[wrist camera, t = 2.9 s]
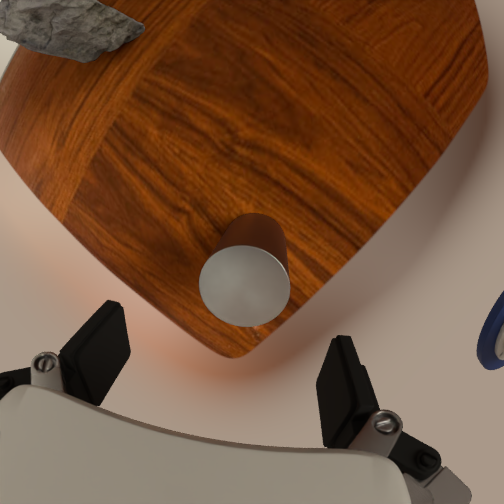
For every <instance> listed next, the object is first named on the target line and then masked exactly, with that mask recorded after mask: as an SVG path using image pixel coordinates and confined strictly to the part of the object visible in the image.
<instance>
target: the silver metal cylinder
mask: <svg viewBox="0 0 504 504" xmlns="http://www.w3.org/2000/svg"><path fill="white" fill-rule="evenodd" d="M199 289H200V294H201V297H202V299H203V301H204V303H205V305H206V306H207V308H208V309H209V310H210V311H211V312H212V313H213V314H214V315H215V316H216V317H218V318H219V319H221V320H223V321H225V322H227V323H229V324H232V325H236V326H243V327H252V326H258V325H262V324H264V323H267V322H269V321H271V320H272V319H274V318H275V317H276V316H278V315H279V314H280V313H281V311H282V310H283V309H284V307H285V306H286V304H287V302H288V299H289V295H290V279H289V269H288V259H287V250H286V240H285V235H284V232H283V230H282V228H281V227H280V225H279V224H278V223H277V222H276V221H275V220H274V219H272V218H271V217H269V216H267V215H264V214H259V213H249V214H245V215H242V216H240V217H238V218H237V219H235V220H234V221H233V222H232V223H231V224H230V225H229V227H228V228H227V230H226V231H225V233H224V235H223V236H222V238H221V239H220V241H219V242H218V244H217V245H216V247H215V249H214V250H213V252H212V253H211V255H210V257H209V258H208V260H207V261H206V263H205V264H204V266H203V268H202V270H201V273H200V277H199Z"/></svg>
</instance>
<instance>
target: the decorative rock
mask: <svg viewBox="0 0 504 504" xmlns="http://www.w3.org/2000/svg"><path fill="white" fill-rule="evenodd" d="M143 25H144V24H142V23H140V22H137V21H135V20H134V19H133V18H130V17H128V16H126V15H124V14H123V13H121V12H119V11H117V10H116V9H114V8H111V7H108V6H106V5H104V4H101V3H100V2H99V1H97V0H1V2H0V33H2V34H3V35H5V36H7V40H11V41H14V42H16V43H18V44H20V45H22V46H24V47H25V48H27V49H29V50H31V51H35V52H39V53H44V54H48V55H53V56H59V57H64V58H69V59H73V60H76V61H79V62H82V63H87V62H90V61H95V60H96V59H97V58H98V57H99V56H100V54H101V53H103V52H104V51H109V52H110V51H113V50H115V49H117V48H119V47H120V46H121V45H122V44H123V43H128V42H130V41H132V40H134V39H135V38H137V37H138V36H139V35H140V34H142V33H143V32H144V30H145V27H144V26H143Z"/></svg>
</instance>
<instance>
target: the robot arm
mask: <svg viewBox="0 0 504 504" xmlns="http://www.w3.org/2000/svg"><path fill="white" fill-rule="evenodd" d="M130 353H131V350H130V345H129V340H128V334H127V328H126V322H125V315H124V309H123V307H122V306H121V305H120V303H119V302H115V301H111V300H107V301H106V302H105V303H104V304H103V305H102V306H101V307H100V308H99V309H98V310H97V311H96V312H95V313H94V314H93V315H92V316H91V317H90V319H89V320H88V321H87V322H86V323H85V324H84V325H83V326H82V327H81V328H80V329H79V330H78V331H77V332H76V333H75V335H74V336H73V337H72V338H71V339H70V340H69V341H68V342H67V343H66V344H65V346H64V347H63V348H62V349H61V350H60V354H59V355H58V356H57V355H56V354H55V353H53V352H42V353H40V354H38V355H36V356H35V357H34V358H33V360H32V363H31V367H28V368H23V369H18V370H13V371H7V372H3V373H0V504H469V503H470V501H471V497H472V495H471V491H470V489H469V488H468V487H467V486H466V485H465V484H464V483H463V482H462V481H461V480H460V479H459V478H458V477H457V476H456V475H454V474H453V473H452V472H451V471H450V470H449V469H448V468H447V467H446V466H445V467H444V468H443V467H442V466H441V457H440V454H439V453H438V452H437V451H436V450H435V449H433V448H432V447H430V446H428V445H426V444H424V443H423V442H421V441H419V440H417V439H415V438H414V437H412V436H410V435H408V434H407V433H405V432H403V431H402V428H403V424H402V421H401V418H400V417H399V416H398V415H397V414H396V413H394V412H392V411H390V410H380V408H379V405H378V402H377V399H376V396H375V393H374V390H373V387H372V385H371V381H370V378H369V376H368V373H367V370H366V368H365V366H364V365H361V364H360V361H359V358H358V355H357V352H356V349H355V347H354V344H353V341H352V339H351V336H343V335H338V336H337V337H336V338H333V339H332V340H331V343H330V346H329V349H328V352H327V354H326V357H325V360H324V363H323V365H322V368H321V371H320V373H319V376H318V378H317V382H316V390H317V397H318V405H319V413H320V420H321V429H322V437H323V445H324V447H327V448H290V447H274V446H261V445H251V444H242V443H235V442H227V441H221V440H215V439H210V438H204V437H199V436H194V435H189V434H185V433H180V432H176V431H172V430H168V429H164V428H161V427H157V426H153V425H150V424H146V423H143V422H140V421H137V420H133V419H130V418H127V417H124V416H122V415H118V414H116V413H113V412H110V411H108V410H105V409H103V408H100V407H97V406H100V405H101V403H102V401H103V400H104V398H105V396H106V395H107V393H108V391H109V390H110V388H111V386H112V385H113V383H114V381H115V379H116V378H117V376H118V375H119V373H120V371H121V370H122V368H123V366H124V365H125V363H126V361H127V360H128V359H129V356H130ZM495 354H496V355H497V357H498V358H499V359H500V360H504V323H503V325H502V327H501V329H500V331H499V334H498V336H497V339H496V343H495Z"/></svg>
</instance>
